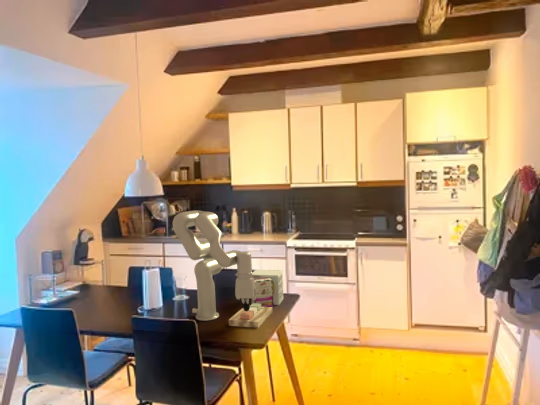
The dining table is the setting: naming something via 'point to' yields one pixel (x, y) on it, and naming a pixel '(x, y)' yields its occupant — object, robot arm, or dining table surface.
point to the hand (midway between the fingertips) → (246, 310)
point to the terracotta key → (246, 315)
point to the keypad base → (254, 322)
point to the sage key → (256, 306)
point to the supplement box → (276, 283)
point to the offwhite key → (253, 310)
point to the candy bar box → (264, 292)
